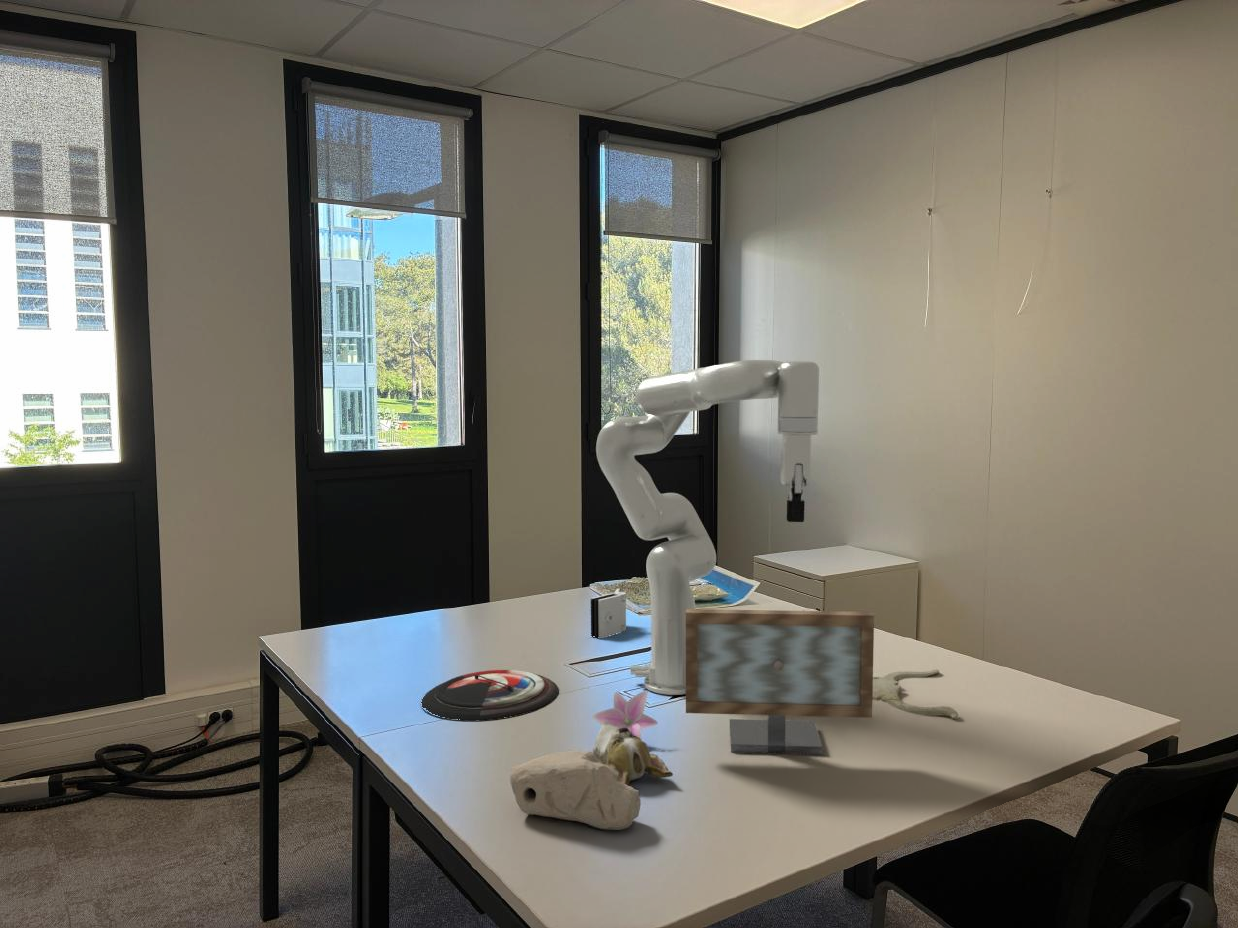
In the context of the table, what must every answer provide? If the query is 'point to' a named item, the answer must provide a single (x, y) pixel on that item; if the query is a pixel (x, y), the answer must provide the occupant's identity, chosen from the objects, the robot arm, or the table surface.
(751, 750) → the frame stand
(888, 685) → the decorative wall piece
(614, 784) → the decorative stone
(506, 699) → the wall clock
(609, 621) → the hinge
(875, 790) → the table surface
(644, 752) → the ceramic sculpture
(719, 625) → the picture frame
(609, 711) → the lily
